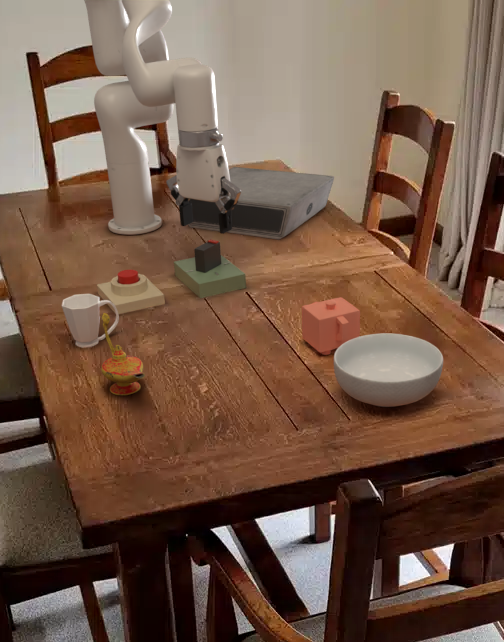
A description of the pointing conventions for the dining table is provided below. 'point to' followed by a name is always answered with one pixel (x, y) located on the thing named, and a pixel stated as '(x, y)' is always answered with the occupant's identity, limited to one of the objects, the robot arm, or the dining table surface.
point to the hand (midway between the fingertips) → (206, 227)
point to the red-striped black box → (207, 256)
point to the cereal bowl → (387, 368)
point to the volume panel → (210, 277)
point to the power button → (128, 277)
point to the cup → (85, 318)
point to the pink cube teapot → (330, 324)
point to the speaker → (267, 202)
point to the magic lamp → (121, 368)
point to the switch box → (131, 294)
